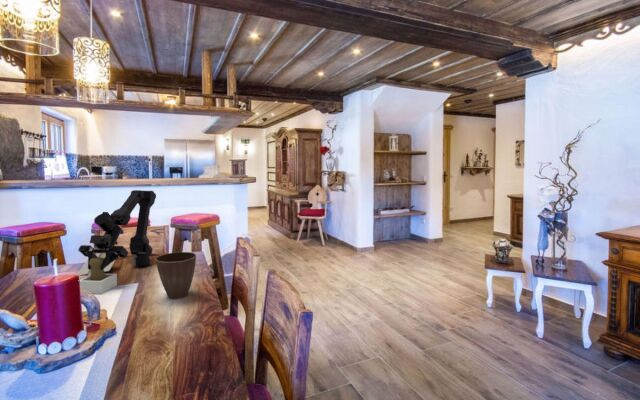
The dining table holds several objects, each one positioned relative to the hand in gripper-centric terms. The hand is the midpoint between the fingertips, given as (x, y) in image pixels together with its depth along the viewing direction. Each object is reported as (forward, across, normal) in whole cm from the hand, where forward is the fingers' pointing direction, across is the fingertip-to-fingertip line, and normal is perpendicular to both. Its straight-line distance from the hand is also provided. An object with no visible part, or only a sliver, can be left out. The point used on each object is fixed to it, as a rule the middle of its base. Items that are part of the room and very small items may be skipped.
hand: (95, 269), depth 143 cm
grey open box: (+6, 0, +7) cm, 9 cm away
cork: (+4, 0, +6) cm, 7 cm away
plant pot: (+9, +36, +4) cm, 37 cm away
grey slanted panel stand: (-10, -15, +24) cm, 30 cm away
